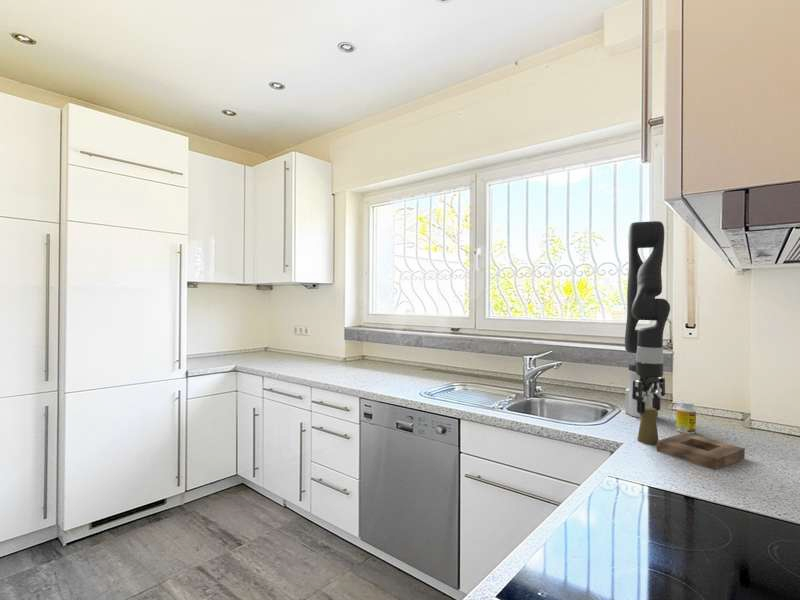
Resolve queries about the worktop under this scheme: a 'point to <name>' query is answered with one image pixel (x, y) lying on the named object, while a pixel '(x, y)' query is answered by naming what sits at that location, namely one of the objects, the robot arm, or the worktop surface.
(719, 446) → the hole plate
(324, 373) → the worktop surface
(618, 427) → the worktop surface
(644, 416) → the olive tapered peg
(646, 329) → the robot arm
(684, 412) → the supplement bottle
